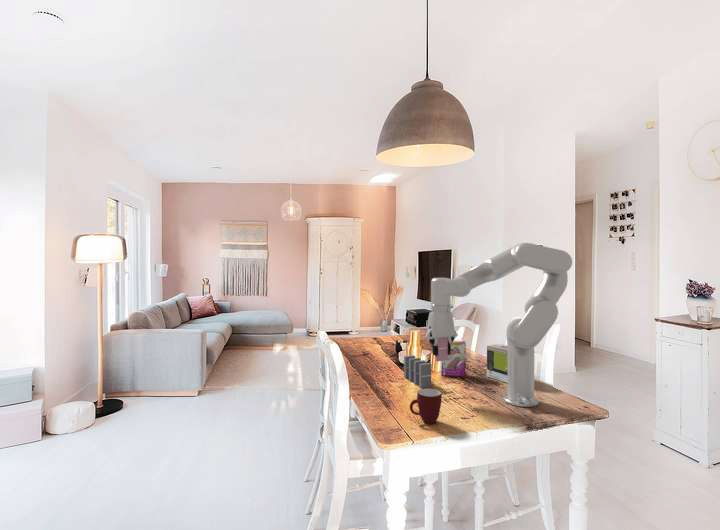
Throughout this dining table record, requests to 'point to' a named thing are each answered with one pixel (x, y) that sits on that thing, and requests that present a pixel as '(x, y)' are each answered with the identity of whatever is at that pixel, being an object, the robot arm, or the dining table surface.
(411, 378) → the domino
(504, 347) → the grey toy television
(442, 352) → the plum domino
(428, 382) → the domino
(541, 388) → the dining table surface
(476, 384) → the dining table surface
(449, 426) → the dining table surface
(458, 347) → the candy bar box
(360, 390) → the dining table surface
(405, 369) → the domino
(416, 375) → the domino
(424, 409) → the mug
